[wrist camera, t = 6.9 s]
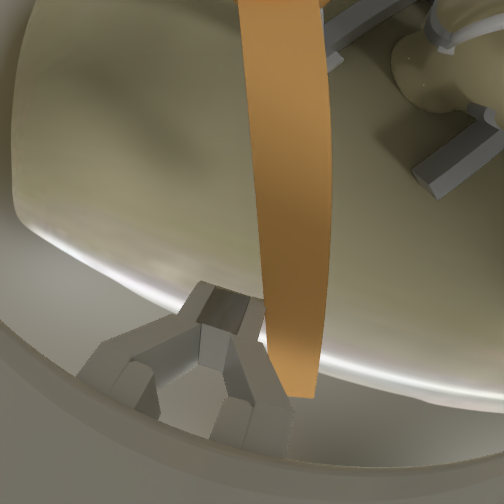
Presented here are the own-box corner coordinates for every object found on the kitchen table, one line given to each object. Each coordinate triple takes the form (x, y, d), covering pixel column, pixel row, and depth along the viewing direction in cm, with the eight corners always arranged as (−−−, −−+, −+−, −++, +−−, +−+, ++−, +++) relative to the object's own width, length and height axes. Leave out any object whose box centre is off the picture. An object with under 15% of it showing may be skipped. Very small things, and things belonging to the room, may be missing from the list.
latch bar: (246, -20, 6) (201, -73, 3) (329, -26, 5) (325, -88, 2) (274, 333, 13) (254, 402, 10) (333, 338, 12) (327, 410, 9)
